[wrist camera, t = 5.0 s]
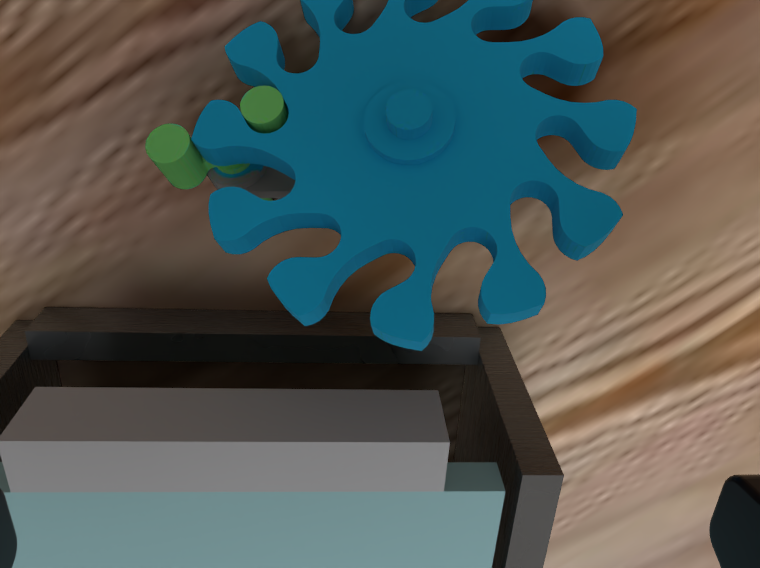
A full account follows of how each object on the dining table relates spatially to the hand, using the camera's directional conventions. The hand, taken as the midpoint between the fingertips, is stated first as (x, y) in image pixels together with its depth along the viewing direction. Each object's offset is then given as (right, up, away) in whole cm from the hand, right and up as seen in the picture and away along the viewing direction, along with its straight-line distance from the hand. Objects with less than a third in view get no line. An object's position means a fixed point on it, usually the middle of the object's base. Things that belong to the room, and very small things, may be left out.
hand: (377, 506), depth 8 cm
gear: (0, +8, +11) cm, 13 cm away
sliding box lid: (-4, -8, +12) cm, 15 cm away
